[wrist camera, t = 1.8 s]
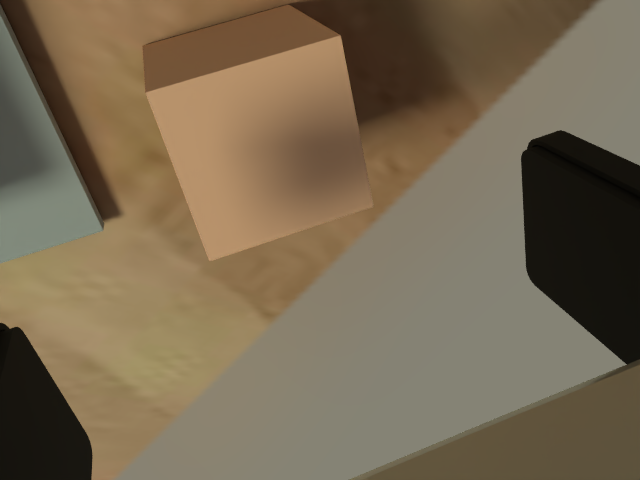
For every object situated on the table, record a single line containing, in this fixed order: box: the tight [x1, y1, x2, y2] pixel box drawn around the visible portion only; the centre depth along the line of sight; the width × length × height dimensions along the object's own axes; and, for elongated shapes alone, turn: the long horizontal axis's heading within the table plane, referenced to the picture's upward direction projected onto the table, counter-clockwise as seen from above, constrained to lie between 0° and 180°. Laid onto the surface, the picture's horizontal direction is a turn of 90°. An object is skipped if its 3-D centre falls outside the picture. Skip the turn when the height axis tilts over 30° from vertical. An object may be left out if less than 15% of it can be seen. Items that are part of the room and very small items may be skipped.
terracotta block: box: [143, 4, 374, 261], centre depth 18 cm, size 5×5×6 cm
